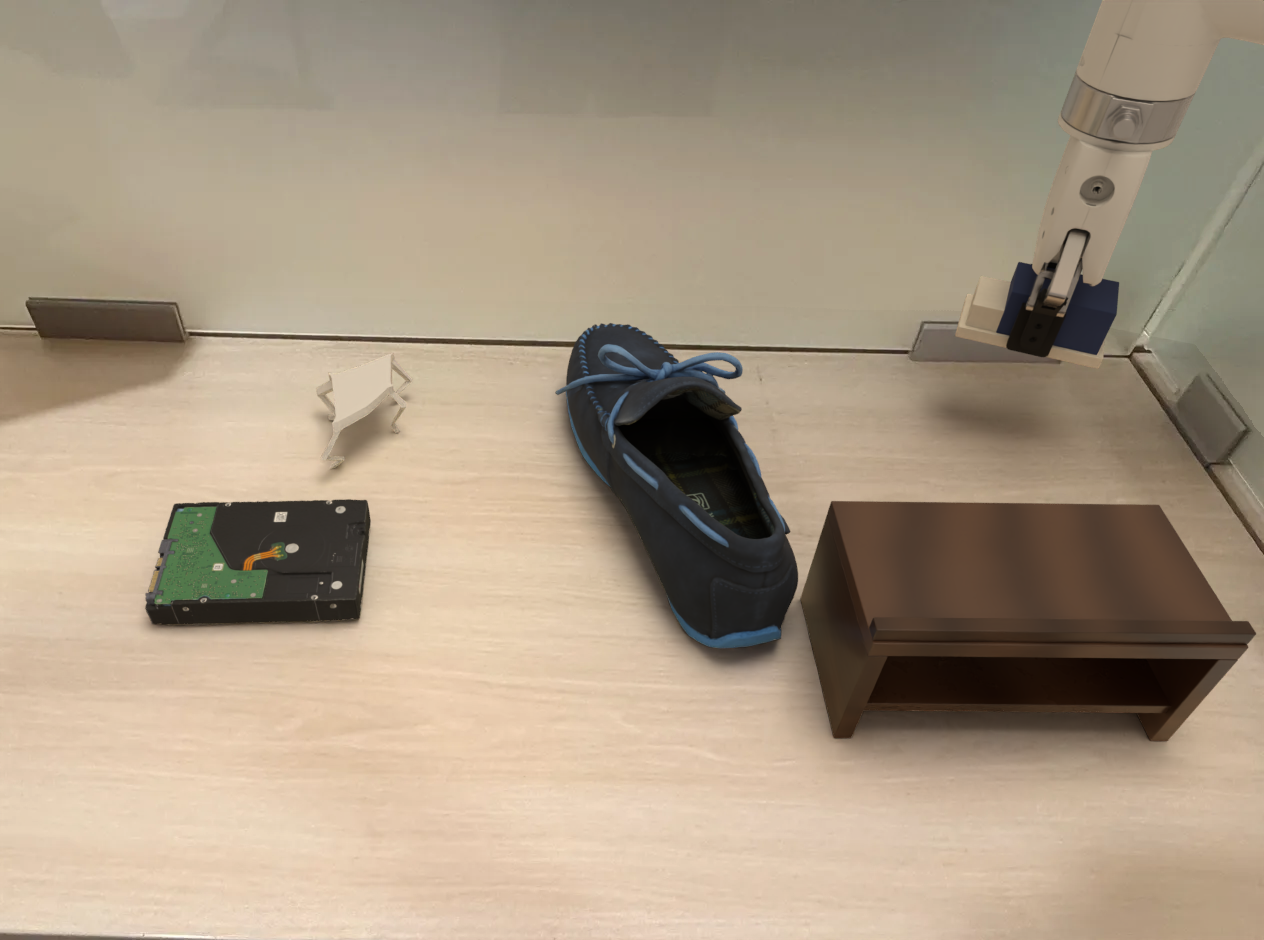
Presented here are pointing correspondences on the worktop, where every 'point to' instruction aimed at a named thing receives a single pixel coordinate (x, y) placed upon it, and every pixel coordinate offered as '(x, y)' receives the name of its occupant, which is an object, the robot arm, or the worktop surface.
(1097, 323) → the navy box on tray
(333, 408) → the cream bent-legged table
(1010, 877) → the worktop surface
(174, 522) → the disk drive
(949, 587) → the shoe shelf
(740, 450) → the moccasin
